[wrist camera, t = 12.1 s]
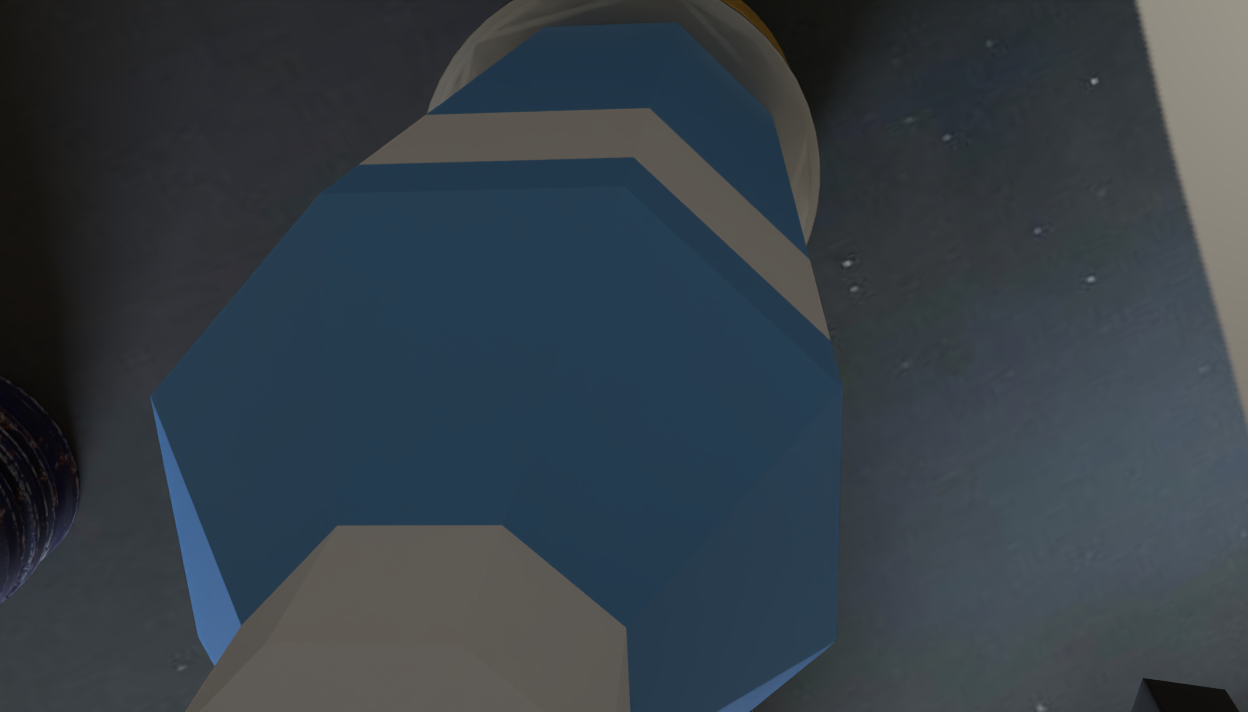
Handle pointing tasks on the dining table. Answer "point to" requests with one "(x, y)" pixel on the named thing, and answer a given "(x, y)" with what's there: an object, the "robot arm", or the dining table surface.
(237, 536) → the water bottle
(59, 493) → the storage jar
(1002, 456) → the dining table surface
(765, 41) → the tin
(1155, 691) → the robot arm
